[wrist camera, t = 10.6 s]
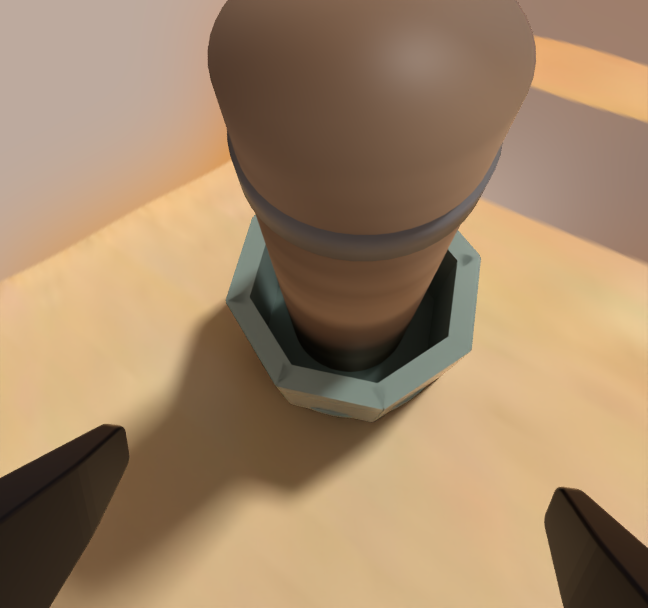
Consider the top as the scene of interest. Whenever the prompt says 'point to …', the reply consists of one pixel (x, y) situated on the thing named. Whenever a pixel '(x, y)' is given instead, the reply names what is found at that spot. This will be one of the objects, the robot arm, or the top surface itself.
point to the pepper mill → (365, 147)
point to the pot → (374, 383)
